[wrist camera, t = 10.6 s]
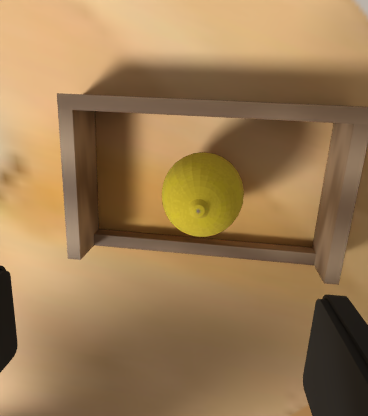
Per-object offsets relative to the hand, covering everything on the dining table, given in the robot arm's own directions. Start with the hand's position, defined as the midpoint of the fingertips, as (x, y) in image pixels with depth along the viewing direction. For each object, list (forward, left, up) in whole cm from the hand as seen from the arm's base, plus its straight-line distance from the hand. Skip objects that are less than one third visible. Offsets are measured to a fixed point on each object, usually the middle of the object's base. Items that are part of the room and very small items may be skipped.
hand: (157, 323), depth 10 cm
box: (+1, 0, -18) cm, 18 cm away
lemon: (0, 0, -18) cm, 18 cm away
